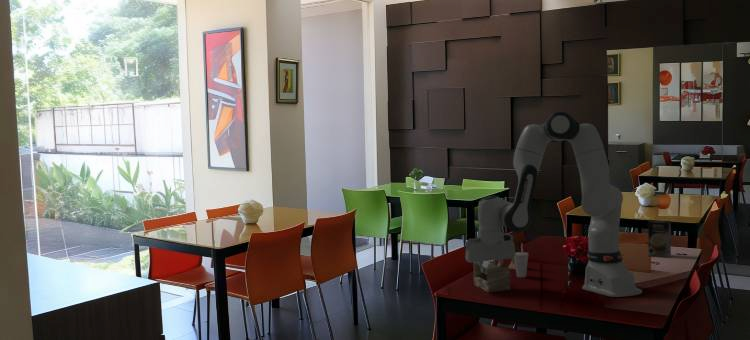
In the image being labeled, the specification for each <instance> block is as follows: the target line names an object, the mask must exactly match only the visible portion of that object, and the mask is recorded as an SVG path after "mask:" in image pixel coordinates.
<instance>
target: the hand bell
mask: <svg viewBox="0 0 750 340" xmlns="http://www.w3.org/2000/svg"><path fill="white" fill-rule="evenodd" d="M513 233H514V232H513ZM512 242H513V243H514V246H515V253H517V252H519V251H520V250H519V249H520V248H519V245H520V236H519V233H514V235H513V240H512ZM507 267H509V269H510V270H511V269H514V270H513V271H516V266H515V260H514V258H511V261H510V263H509V264H508V266H507Z"/></svg>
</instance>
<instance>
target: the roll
mask: <svg viewBox="0 0 750 340" xmlns="http://www.w3.org/2000/svg"><path fill="white" fill-rule="evenodd" d="M482 265H483V267H485V268H486V272H483V273H484V274H486V275H487V269H492V268H500V267H498V266H497V265H496V264H495V265H494V264H492V263H490V262H487V261H485V262H484V261H483V264H482ZM480 270H481V267H480Z"/></svg>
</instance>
